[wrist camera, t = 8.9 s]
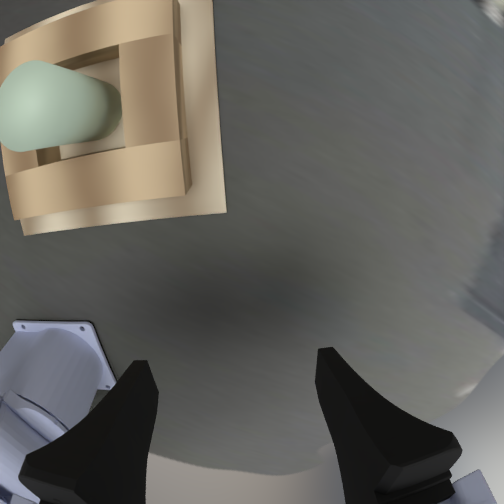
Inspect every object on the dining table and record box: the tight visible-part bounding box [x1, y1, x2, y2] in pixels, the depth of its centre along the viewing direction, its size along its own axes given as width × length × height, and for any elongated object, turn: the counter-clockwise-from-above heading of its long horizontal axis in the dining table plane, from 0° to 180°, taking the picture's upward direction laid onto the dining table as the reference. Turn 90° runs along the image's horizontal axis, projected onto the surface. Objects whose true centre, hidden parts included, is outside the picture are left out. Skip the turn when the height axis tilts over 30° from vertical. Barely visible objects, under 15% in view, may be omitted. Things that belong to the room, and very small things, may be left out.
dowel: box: [0, 60, 122, 152], centre depth 13 cm, size 4×4×8 cm
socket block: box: [0, 0, 227, 236], centre depth 15 cm, size 16×16×3 cm
